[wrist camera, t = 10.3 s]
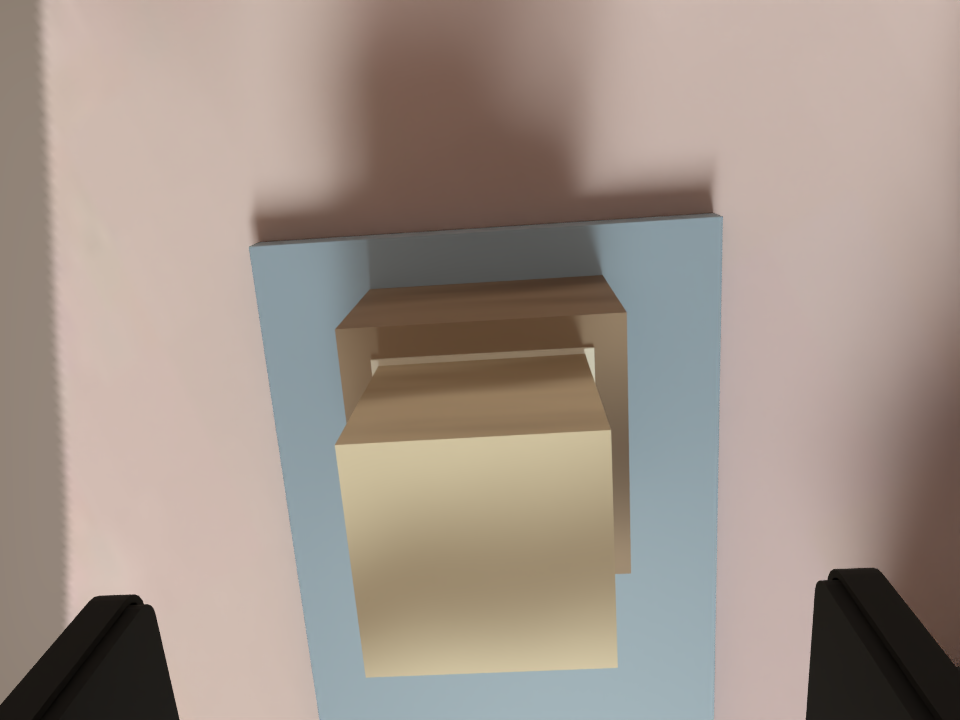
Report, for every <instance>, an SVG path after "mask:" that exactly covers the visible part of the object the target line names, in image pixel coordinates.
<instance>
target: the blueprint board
mask: <svg viewBox="0 0 960 720" xmlns="http://www.w3.org/2000/svg"><path fill="white" fill-rule="evenodd" d="M722 226H723V216H720V215H718V214H715V213H707V214H692V215H676V216H661V217H645V218H629V219H614V220H598V221H583V222H567V223H552V224H536V225H521V226H505V227H489V228H474V229H458V230H443V231H427V232H412V233H396V234H380V235H365V236H349V237H334V238H318V239H303V240H287V241H272V242H259V243H256V244H254V245H252V246H250V247H249V252H250V258H251V265H252V272H253V278H254V285H255V292H256V298H257V305H258V312H259V318H260V325H261V332H262V339H263V345H264V352H265V359H266V365H267V372H268V379H269V385H270V392H271V399H272V405H273V412H274V419H275V425H276V432H277V439H278V445H279V452H280V459H281V466H282V472H283V479H284V486H285V492H286V499H287V506H288V512H289V519H290V526H291V532H292V539H293V546H294V552H295V559H296V566H297V573H298V579H299V586H300V593H301V599H302V606H303V613H304V619H305V626H306V633H307V639H308V646H309V653H310V659H311V666H312V673H313V679H314V686H315V693H316V700H317V706H318V713H319V720H714V678H715V621H716V565H717V508H718V452H719V395H720V339H721V282H722ZM571 354H585V355H586V358H587V361H588V364H589V367H590V370H591V373H592V376H593V378H594V381H595V384H596V387H597V390H598V393H599V396H600V399H601V402H602V405H603V408H604V411H605V414H606V417H607V419H608V422H609V425H610V428H611V445H612V480H613V516H614V551H615V586H616V622H617V657H618V668H602V669H577V670H551V671H525V672H499V673H473V674H447V675H421V676H395V677H370V678H366V676H365V669H364V661H363V654H362V646H361V639H360V631H359V624H358V616H357V609H356V601H355V594H354V586H353V579H352V571H351V564H350V556H349V549H348V541H347V534H346V526H345V519H344V511H343V504H342V496H341V489H340V481H339V474H338V466H337V459H336V451H335V444H336V442H337V440H338V438H339V436H340V435H341V433H342V431H343V429H344V427H345V426H346V424H347V422H348V420H349V418H350V417H351V415H352V413H353V411H354V409H355V407H356V406H357V404H358V402H359V400H360V398H361V397H362V395H363V393H364V391H365V389H366V388H367V386H368V384H369V382H370V380H371V378H372V377H373V375H374V373H375V371H376V369H377V368H378V366H388V365H404V364H421V363H438V362H454V361H471V360H488V359H504V358H521V357H537V356H554V355H571Z"/></svg>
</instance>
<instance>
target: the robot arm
mask: <svg viewBox="0 0 960 720" xmlns="http://www.w3.org/2000/svg"><path fill="white" fill-rule="evenodd" d="M0 720H179V715H178V711H177V707H176V702H175V698H174V693H173V689H172V685H171V680H170V676H169V671H168V667H167V663H166V658H165V654H164V650H163V645H162V641H161V636H160V632H159V628H158V623H157V619H156V614H155V611H154V609H153V607H152V606H151V605H148V604H144V603H143V601H142V599H141V598H140V597H139V596H137V595H108V596H97V597H94V598H93V599H91V600H90V601H89V602H88V603H87V605H86V606H85V607H84V608H83V609H82V610H81V612H80V613H79V614H78V615H77V616H76V617H75V619H74V620H73V621H72V622H71V623H70V624H69V626H68V627H67V628H66V629H65V630H64V631H63V633H62V634H61V635H60V636H59V637H58V638H57V640H56V641H55V642H54V643H53V644H52V646H51V647H50V648H49V649H48V650H47V651H46V652H45V654H44V655H43V656H42V657H41V658H40V659H39V661H38V662H37V663H36V664H35V665H34V666H33V668H32V669H31V670H30V671H29V672H28V673H27V675H26V676H25V677H24V678H23V679H22V681H21V682H20V683H19V684H18V685H17V686H16V687H15V689H14V690H13V691H12V692H11V693H10V695H9V696H8V697H7V698H6V699H5V700H4V701H3V703H2V704H1V705H0ZM806 720H960V667H956V666H955V665H954V664H953V662H952V661H951V660H950V659H949V657H948V656H947V655H946V654H945V652H944V651H943V650H942V649H941V647H940V646H939V645H938V643H937V642H936V641H935V640H934V638H933V637H932V636H931V635H930V633H929V632H928V631H927V629H926V628H925V627H924V626H923V624H922V623H921V622H920V621H919V619H918V618H917V617H916V616H915V614H914V613H913V612H912V610H911V609H910V608H909V607H908V605H907V604H906V603H905V602H904V600H903V599H902V598H901V596H900V595H899V594H898V593H897V591H896V590H895V589H894V588H893V586H892V585H891V584H890V583H889V581H888V580H887V579H886V577H885V576H884V575H883V574H882V573H881V572H880V571H879V570H878V569H876V568H854V569H833V570H832V571H830V574H829V576H828V580H823V581H818V582H817V584H816V588H815V598H814V612H813V626H812V640H811V655H810V669H809V683H808V697H807V712H806Z"/></svg>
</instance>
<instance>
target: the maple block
mask: <svg viewBox="0 0 960 720" xmlns="http://www.w3.org/2000/svg"><path fill="white" fill-rule="evenodd" d="M335 451H336V459H337V466H338V474H339V481H340V489H341V496H342V504H343V511H344V519H345V526H346V534H347V541H348V549H349V556H350V564H351V571H352V579H353V586H354V594H355V601H356V609H357V616H358V624H359V631H360V639H361V646H362V654H363V661H364V669H365V676H366V678H370V677H395V676H421V675H447V674H473V673H499V672H525V671H551V670H577V669H602V668H618V657H617V622H616V586H615V551H614V516H613V480H612V445H611V428H610V425H609V422H608V419H607V417H606V414H605V411H604V408H603V405H602V402H601V399H600V396H599V393H598V390H597V387H596V384H595V381H594V378H593V376H592V373H591V370H590V367H589V364H588V361H587V358H586V355H585V354H571V355H554V356H537V357H521V358H504V359H488V360H471V361H454V362H438V363H421V364H404V365H388V366H378V368H377V369H376V371H375V373H374V375H373V377H372V378H371V380H370V382H369V384H368V386H367V388H366V389H365V391H364V393H363V395H362V397H361V398H360V400H359V402H358V404H357V406H356V407H355V409H354V411H353V413H352V415H351V417H350V418H349V420H348V422H347V424H346V426H345V427H344V429H343V431H342V433H341V435H340V436H339V438H338V440H337V442H336V444H335Z"/></svg>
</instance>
